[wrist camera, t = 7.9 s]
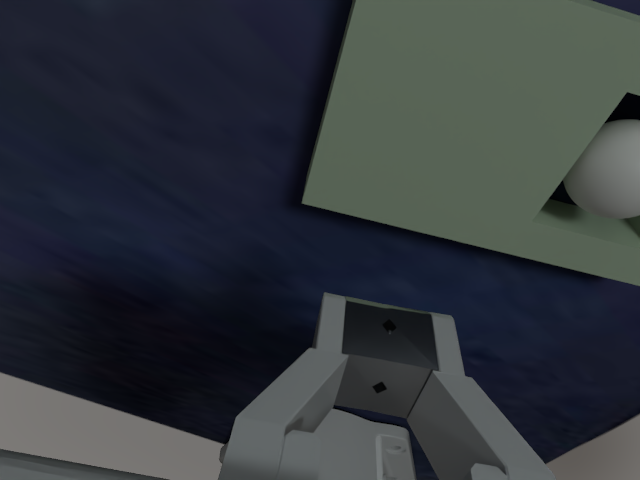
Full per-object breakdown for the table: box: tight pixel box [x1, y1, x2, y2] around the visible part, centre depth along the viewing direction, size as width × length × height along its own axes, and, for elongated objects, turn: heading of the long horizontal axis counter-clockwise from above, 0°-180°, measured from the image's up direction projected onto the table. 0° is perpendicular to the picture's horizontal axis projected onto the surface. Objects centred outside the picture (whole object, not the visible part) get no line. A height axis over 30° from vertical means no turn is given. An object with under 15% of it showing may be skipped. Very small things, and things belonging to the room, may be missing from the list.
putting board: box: [302, 0, 640, 286], centre depth 18 cm, size 18×10×2 cm, turn 76°
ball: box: [563, 119, 640, 219], centre depth 17 cm, size 4×4×4 cm
